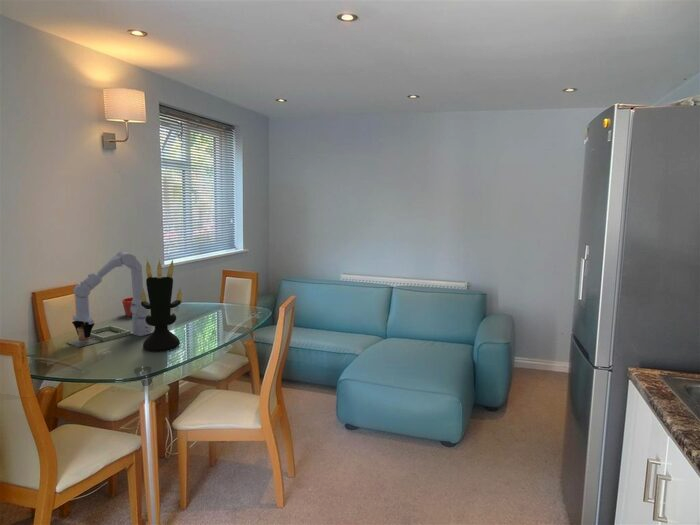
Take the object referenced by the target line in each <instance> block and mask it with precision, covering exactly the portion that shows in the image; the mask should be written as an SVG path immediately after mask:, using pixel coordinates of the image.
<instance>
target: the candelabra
mask: <svg viewBox="0 0 700 525" xmlns="http://www.w3.org/2000/svg"><path fill="white" fill-rule="evenodd" d="M156 266H157V267H156V274H157V275H156V276H157V277H156V276H155V277H154V276H153V272H152V270H153V269H152V267H151V265H150V262H149V260H148V259H146V266H145V273H146V274H145V275H146V277H147V278H146V280H145V284H146V290H147V293H146V292H145V288H143V292H142V294H141V305H142V306H143V307H144V308H146V309H148V310H150V313H148V314H147V316H146V319H145V321H146V323H147V324H148V325H151V327H154V331H152V332H153V333H150V334H149V335H148V336H147V337H146V338H145V340H144V341H143V344H142V347H143V349H145V351H148V352H155V353H156V352H157V353H158V352H160V351H161V352H167V350H169V351H172V350H175V349H177V348H178V347H179V346H180V344H181V342H180V339H179V338H178V336H176V334H174V333H172V332H171V331H170V330H169V327H168V326H170V325H174V323H175V322H176V321H177V316H176V314H175V313H174V312H172V311H171V309H174V308H177V307H178V306H180V305H181V304H182V303H183V295H182V294H183V293H182V289H181V287H179V289H178V291H177V293H176V300H174V301H172V295H173V294H172V293H173V288H174V287H173V285H174V278H173V275H174V259H172V260H171V263H169V267H168V269H167V273H166V276H163V267H162V264H161V259H158V263H157V265H156ZM146 294H147V295H146ZM147 296H148V301H147ZM176 347H177V348H176ZM174 348H175V349H174ZM171 349H172V350H171Z"/></svg>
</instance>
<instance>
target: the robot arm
mask: <svg viewBox="0 0 700 525" xmlns="http://www.w3.org/2000/svg"><path fill="white" fill-rule="evenodd" d="M124 266H125V267H127V268H128V269H130V274H131V287H132V288H131V289H132V298H133V300H132V305H131V307H130V311H131V313H133V315H132V317H131V319H132V320H131V324H132V326H131V327H132V331H131V335H134V336H138V337H143V336H146V335H151V334H152V333H153V332H154V331H152V326H151V325H148V324H147V323H146V321H145V319H146V316H147V315H149V310H150V309H146V308H144V307H143V306H142V305H141V294H142V292H143V289H144V279H143V266H142V264H141V263H140V261H139V260H138V258H137V256H135V255H133V253H130V252H126V251H119V252H118V253H116V254H115V255H113V256H112V258H110V260H109V261H107V263H106V264H104V266H102V267H101V268H100V269H98V271H97V272H93V273H89V274H88V275H87V278H85V279H83V281H79V284H76V285H75V286H74V288H73V290H72V292H73V294H74V296H75V300H74V301H75V315H72V320H73V321H72V322H71V323H72V325H73V326H74V328H75V331H76V334H77V336H79V334H78V331H77V328H78V327H80V326H82V328H83V330H84V336H85V338H87V337H90V334H91V330H93V329H94V328H93V327H94V325H95V322H94V321H95V320H94V319H92V318H91V317H90V300H89V296H90V294H91V291H92V290H94V289H95V288H96V287H97V286H98V285H99V284H100V283H102V281H103V277H105V276H106V275H107V274H109V273H110V272H111V271H112V270H114V269H115V268H118V267H124ZM90 338H91V337H90Z"/></svg>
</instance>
